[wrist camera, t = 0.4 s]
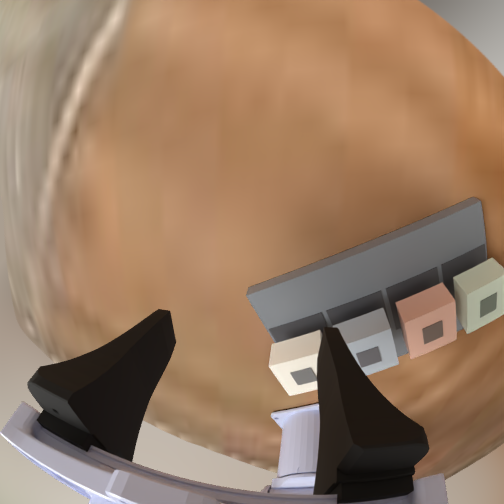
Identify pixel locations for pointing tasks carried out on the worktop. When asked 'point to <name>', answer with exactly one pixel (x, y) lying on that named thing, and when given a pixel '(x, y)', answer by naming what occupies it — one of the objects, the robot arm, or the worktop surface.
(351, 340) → the key
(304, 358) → the key
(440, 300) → the key
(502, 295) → the key
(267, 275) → the worktop surface
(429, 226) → the keypad board
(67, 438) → the robot arm
